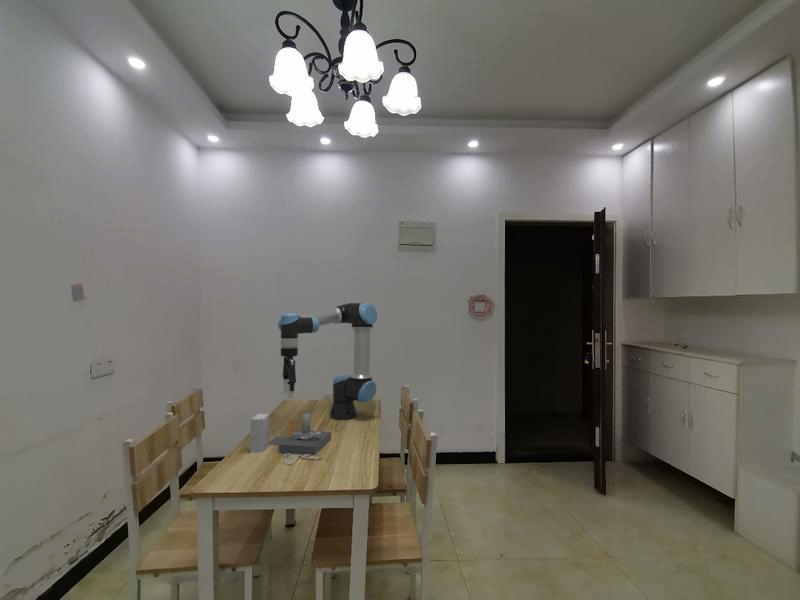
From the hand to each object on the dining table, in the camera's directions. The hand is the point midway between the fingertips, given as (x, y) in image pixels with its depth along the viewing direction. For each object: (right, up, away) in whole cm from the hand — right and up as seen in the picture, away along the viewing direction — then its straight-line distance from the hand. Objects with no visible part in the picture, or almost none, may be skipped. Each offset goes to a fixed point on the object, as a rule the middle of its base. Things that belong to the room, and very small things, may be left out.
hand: (288, 395), depth 181 cm
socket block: (+9, -22, -4) cm, 24 cm away
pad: (-4, -22, +2) cm, 23 cm away
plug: (+9, -21, -4) cm, 24 cm away
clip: (+9, -16, -5) cm, 19 cm away
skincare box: (-11, -22, -8) cm, 26 cm away
